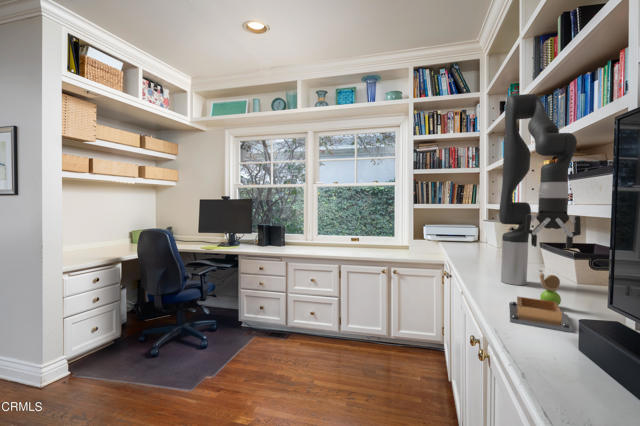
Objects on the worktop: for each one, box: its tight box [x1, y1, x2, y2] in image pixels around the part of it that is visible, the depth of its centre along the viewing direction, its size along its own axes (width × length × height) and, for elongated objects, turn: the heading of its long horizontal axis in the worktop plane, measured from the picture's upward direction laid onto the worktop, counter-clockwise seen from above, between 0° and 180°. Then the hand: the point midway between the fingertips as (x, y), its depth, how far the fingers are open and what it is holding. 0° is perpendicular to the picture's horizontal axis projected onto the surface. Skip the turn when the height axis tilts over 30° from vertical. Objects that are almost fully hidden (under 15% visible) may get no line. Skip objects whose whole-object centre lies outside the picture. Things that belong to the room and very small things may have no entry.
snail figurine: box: [538, 269, 562, 306], centre depth 103 cm, size 5×6×12 cm
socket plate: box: [508, 296, 573, 333], centre depth 94 cm, size 16×14×4 cm
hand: (550, 247), depth 103 cm, fingers open, 8 cm apart
